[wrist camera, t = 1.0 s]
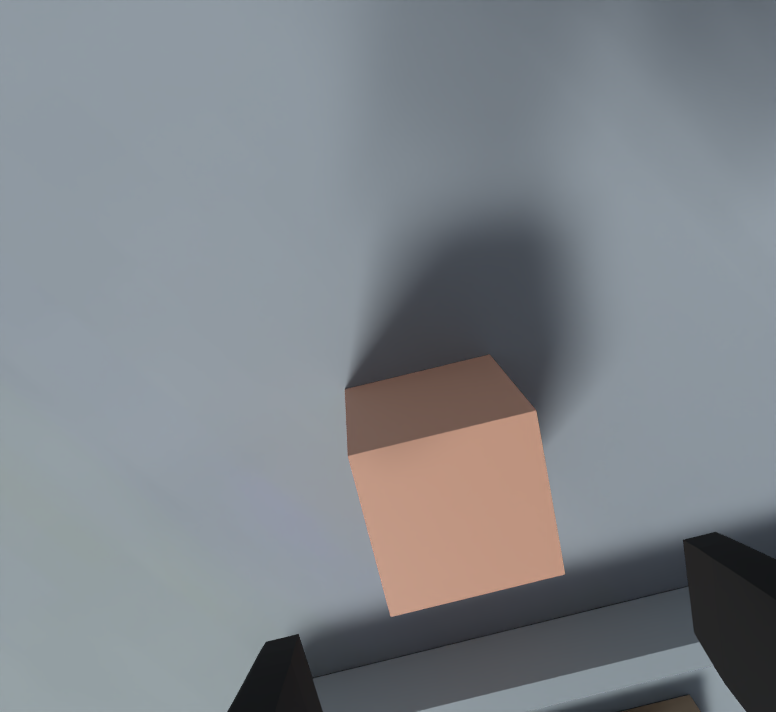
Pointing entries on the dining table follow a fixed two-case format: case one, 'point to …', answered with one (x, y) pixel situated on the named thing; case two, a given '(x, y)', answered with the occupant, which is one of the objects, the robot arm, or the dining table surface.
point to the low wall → (530, 663)
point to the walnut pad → (669, 706)
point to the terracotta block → (451, 484)
